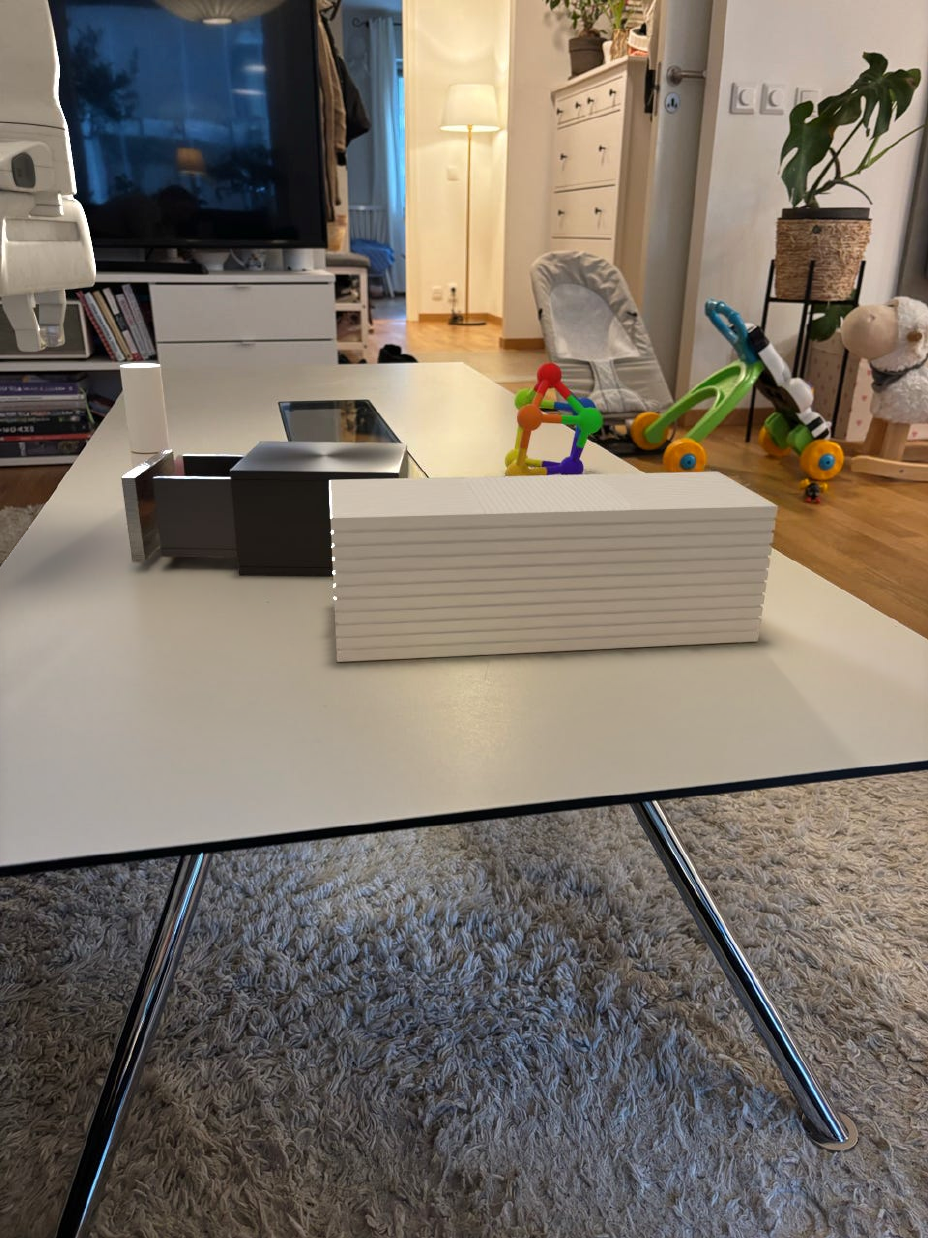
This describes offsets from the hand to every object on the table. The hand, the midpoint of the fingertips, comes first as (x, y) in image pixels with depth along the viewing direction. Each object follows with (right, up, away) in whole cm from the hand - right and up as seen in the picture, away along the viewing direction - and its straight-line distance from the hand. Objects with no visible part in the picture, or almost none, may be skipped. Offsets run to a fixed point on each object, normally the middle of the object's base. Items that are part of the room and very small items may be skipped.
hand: (42, 348), depth 78 cm
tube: (0, -9, +28) cm, 30 cm away
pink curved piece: (+6, -11, +24) cm, 27 cm away
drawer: (+12, -16, +9) cm, 22 cm away
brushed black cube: (+23, -17, +10) cm, 30 cm away
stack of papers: (+42, -24, -6) cm, 49 cm away
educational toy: (+47, -5, +39) cm, 62 cm away
